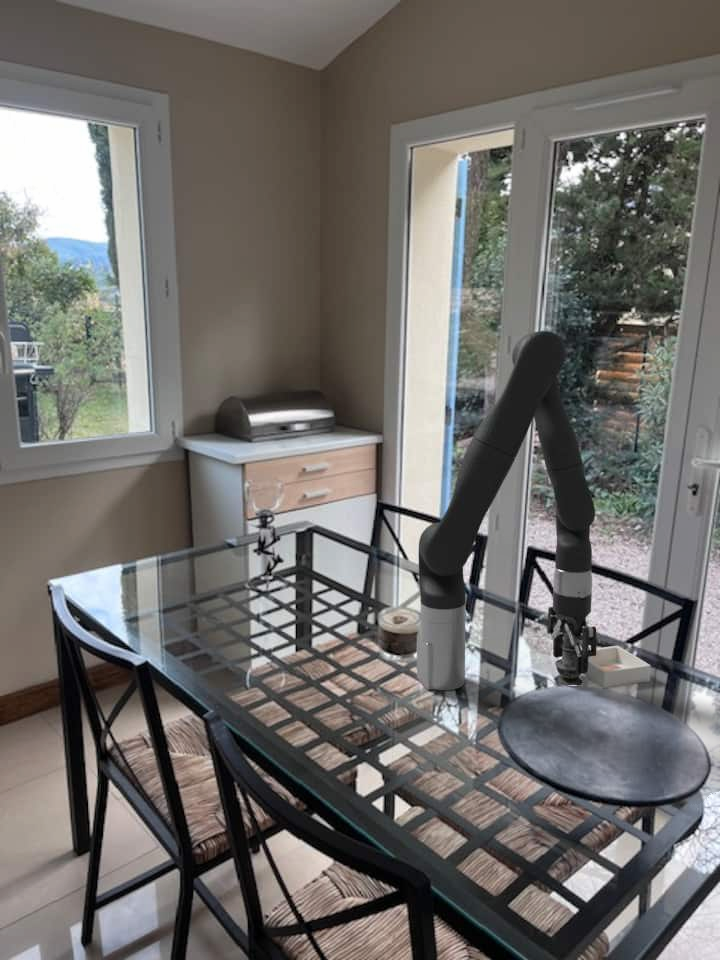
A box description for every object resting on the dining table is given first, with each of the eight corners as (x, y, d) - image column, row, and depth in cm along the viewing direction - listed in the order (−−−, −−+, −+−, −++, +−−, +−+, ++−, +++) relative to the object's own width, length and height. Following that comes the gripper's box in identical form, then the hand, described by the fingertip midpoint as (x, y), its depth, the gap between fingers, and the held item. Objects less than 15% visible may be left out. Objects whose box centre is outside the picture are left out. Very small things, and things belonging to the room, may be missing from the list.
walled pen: (603, 688, 145) (604, 672, 145) (573, 667, 156) (573, 651, 155) (649, 681, 148) (650, 665, 148) (616, 660, 159) (617, 645, 158)
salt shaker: (585, 688, 146) (587, 631, 144) (555, 685, 147) (557, 630, 145) (582, 675, 151) (584, 621, 149) (553, 673, 153) (555, 619, 151)
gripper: (537, 581, 152) (535, 653, 154) (576, 602, 138) (573, 681, 141) (568, 577, 154) (566, 649, 156) (609, 598, 140) (606, 676, 143)
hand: (569, 664), depth 149 cm, fingers open, 8 cm apart
